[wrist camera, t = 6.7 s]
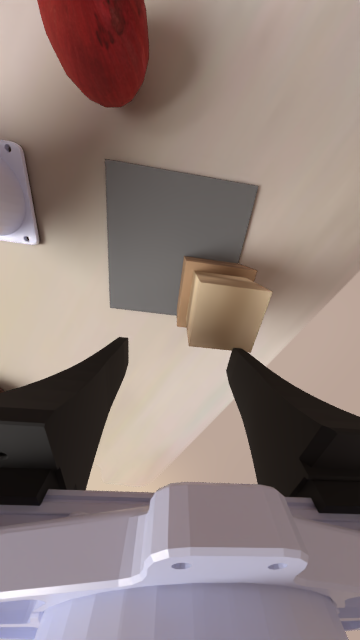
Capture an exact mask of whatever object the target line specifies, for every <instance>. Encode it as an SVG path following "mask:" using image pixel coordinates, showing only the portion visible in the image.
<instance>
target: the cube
mask: <svg viewBox="0 0 360 640" xmlns="http://www.w3.org/2000/svg"><path fill="white" fill-rule="evenodd" d="M271 295H272V291H270V290H268V289H266V288H264V287H263V286H261V285H259V284H257V283H255V282H253V281H251V280H249V279H248V278H244V277H237V276H230V275H222V274H215V273H208V272H201V271H194V272H193V278H192V285H191V291H190V297H189V303H188V309H187V315H186V326H187V334H188V343H189V346H193V347H203V348H212V349H222V350H231V351H232V349H233V348H242V349H243V350H245V351H246V352H250V353H251V350H252V347H253V345H254V342H255V339H256V336H257V334H258V331H259V328H260V325H261V323H262V320H263V317H264V314H265V312H266V309H267V306H268V303H269V301H270V298H271Z"/></svg>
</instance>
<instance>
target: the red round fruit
mask: <svg viewBox="0 0 360 640" xmlns="http://www.w3.org/2000/svg"><path fill="white" fill-rule="evenodd" d="M37 1H38V5H39V9H40V14H41V18H42V21H43V24H44V28H45V31H46V34H47V36H48V38H49V40H50V43H51V45H52V47H53V49H54V51H55V53H56V55H57V57H58V59H59V61H60V63H61V65H62V67H63V68H64V70H65V72H66V74H67V76H68V77H69V78H70V79H71V80H72V81H73V82H74V83H75V85H76V86H77V87H78V88H79V89H80V90H81V91H82V92H83V93H84V95H86V96H87V97H88V98H89V99H90V100H92V101H94V102H96V103H98V104H100V105H102V106H104V107H122V106H123V105H125V104H127V103H128V102H130V101H132V99H133V98H134V96H135V95H136V93H137V92H138V90H139V89H140V87H141V85H142V83H143V81H144V77H145V73H146V68H147V64H148V60H149V39H148V28H147V16H146V8H145V3H144V0H37Z"/></svg>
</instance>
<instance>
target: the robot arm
mask: <svg viewBox="0 0 360 640" xmlns="http://www.w3.org/2000/svg"><path fill="white" fill-rule="evenodd" d="M9 147H11V152H9ZM27 237H28V238H29V241H28V240H27ZM0 240H1V241H9V242H16V243H23V244H30V245H38V244H39V235H38V229H37V224H36V218H35V213H34V207H33V202H32V196H31V190H30V185H29V179H28V174H27V168H26V163H25V157H24V152H23V149H22V148H21V146H20V145H18V144H17V143H15V142H11V141H6V140H0ZM127 366H128V338H123V337H119V338H117V339H116V340H114V341H113V342H111V343H110V344H109V345H107V346H106V347H104V348H103V349H101V350H100V351H99V352H97V353H95V354H94V355H92V356H91V357H89V358H87V359H86V360H84V361H82V362H80V363H78V364H77V365H75V366H73V367H71V368H69V369H66V370H64V371H62V372H60V373H57V374H55V375H53V376H50V377H48V378H45V379H42V380H40V381H37V382H34V383H31V384H28V385H25V386H22V387H19V388H16V389H12V390H9V391H6V392H2V393H0V639H5V640H348V637H347V635H346V632H345V631H352V630H360V417H359V416H356V415H354V414H351V413H349V412H346V411H344V410H341V409H339V408H337V407H335V406H332V405H330V404H328V403H326V402H324V401H322V400H320V399H318V398H316V397H314V396H312V395H310V394H308V393H306V392H304V391H302V390H301V389H299V388H297V387H295V386H294V385H292V384H290V383H289V382H287V381H286V380H284V379H282V378H281V377H280V376H278V375H277V374H275V373H274V372H272V371H271V370H270V369H268V368H267V367H266V366H264V365H263V364H262V363H260V362H259V361H258V360H256V359H255V358H254V357H253V356H251V355H250V354H249V353H247V352H246V351H245V350H243V349H242V348H233V349H232V353H231V356H230V360H229V363H228V367H227V370H226V372H227V377H228V381H229V385H230V387H231V390H232V393H233V396H234V398H235V401H236V403H237V406H238V409H239V411H240V414H241V416H242V419H243V423H244V427H245V430H246V434H247V438H248V442H249V446H250V450H251V454H252V458H253V463H254V468H255V472H256V477H257V482H258V484H230V483H204V482H181V483H171V484H169V485H167V486H164V487H162V488H160V489H158V490H157V491H156V492H155V493H148V492H118V491H116V492H115V491H86V486H87V483H88V479H89V476H90V472H91V468H92V465H93V462H94V458H95V455H96V451H97V448H98V445H99V442H100V438H101V435H102V432H103V429H104V426H105V423H106V420H107V417H108V414H109V411H110V408H111V406H112V404H113V401H114V399H115V397H116V394H117V392H118V390H119V388H120V385H121V383H122V381H123V378H124V376H125V373H126V370H127Z"/></svg>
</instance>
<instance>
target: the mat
mask: <svg viewBox="0 0 360 640" xmlns="http://www.w3.org/2000/svg"><path fill="white" fill-rule="evenodd" d="M105 167H106V198H107V230H108V261H109V292H110V308H116V309H125V310H133V311H142V312H150V313H159V314H167V315H176V316H177V304H178V296H179V289H180V282H181V274H182V267H183V260H184V256H188V257H195V258H202V259H209V260H216V261H223V262H230V263H237V264H238V262H239V258H240V254H241V251H242V247H243V243H244V239H245V235H246V232H247V228H248V224H249V220H250V216H251V212H252V209H253V205H254V201H255V197H256V193H257V190H258V186H255V185H250V184H244V183H238V182H233V181H227V180H221V179H216V178H210V177H205V176H199V175H193V174H188V173H182V172H176V171H171V170H165V169H160V168H154V167H148V166H143V165H137V164H131V163H126V162H120V161H115V160H109V159H105Z"/></svg>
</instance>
